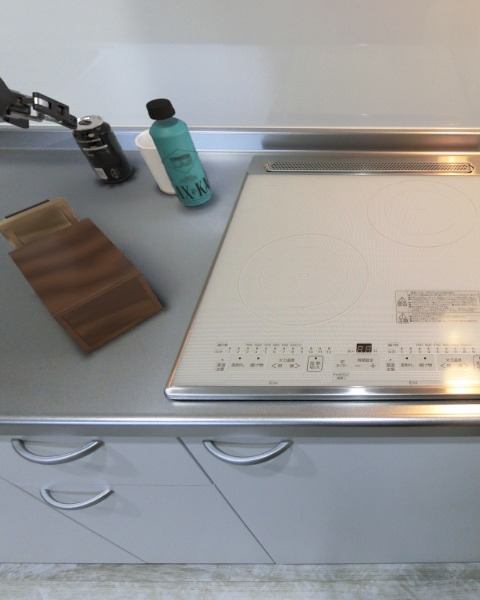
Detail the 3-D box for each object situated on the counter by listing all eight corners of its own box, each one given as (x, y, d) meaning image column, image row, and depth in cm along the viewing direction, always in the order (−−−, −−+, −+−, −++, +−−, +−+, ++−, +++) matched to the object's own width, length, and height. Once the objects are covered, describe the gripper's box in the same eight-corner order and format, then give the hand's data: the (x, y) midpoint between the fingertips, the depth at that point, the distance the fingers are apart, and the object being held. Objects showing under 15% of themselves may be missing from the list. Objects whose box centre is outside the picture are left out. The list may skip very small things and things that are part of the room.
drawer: (11, 242, 77) (-16, 211, 72) (72, 215, 82) (51, 184, 77) (57, 304, 68) (29, 273, 62) (123, 270, 73) (102, 239, 68)
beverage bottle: (175, 203, 86) (127, 102, 71) (205, 189, 89) (166, 89, 74) (192, 217, 83) (146, 115, 68) (222, 202, 86) (185, 101, 71)
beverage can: (114, 165, 95) (85, 111, 86) (141, 170, 94) (114, 116, 85) (92, 183, 91) (58, 128, 82) (120, 188, 90) (88, 133, 81)
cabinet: (43, 292, 71) (7, 253, 64) (114, 256, 76) (88, 217, 70) (87, 353, 63) (51, 316, 56) (163, 308, 68) (139, 269, 62)
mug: (210, 184, 91) (192, 137, 83) (167, 201, 87) (145, 154, 79) (187, 162, 96) (169, 117, 88) (147, 178, 92) (123, 131, 84)
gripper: (2, 55, 59) (91, 101, 75) (-100, 53, 59) (10, 100, 75) (4, 112, 59) (92, 146, 75) (-98, 110, 59) (11, 144, 76)
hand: (51, 123), depth 75 cm, fingers open, 8 cm apart
